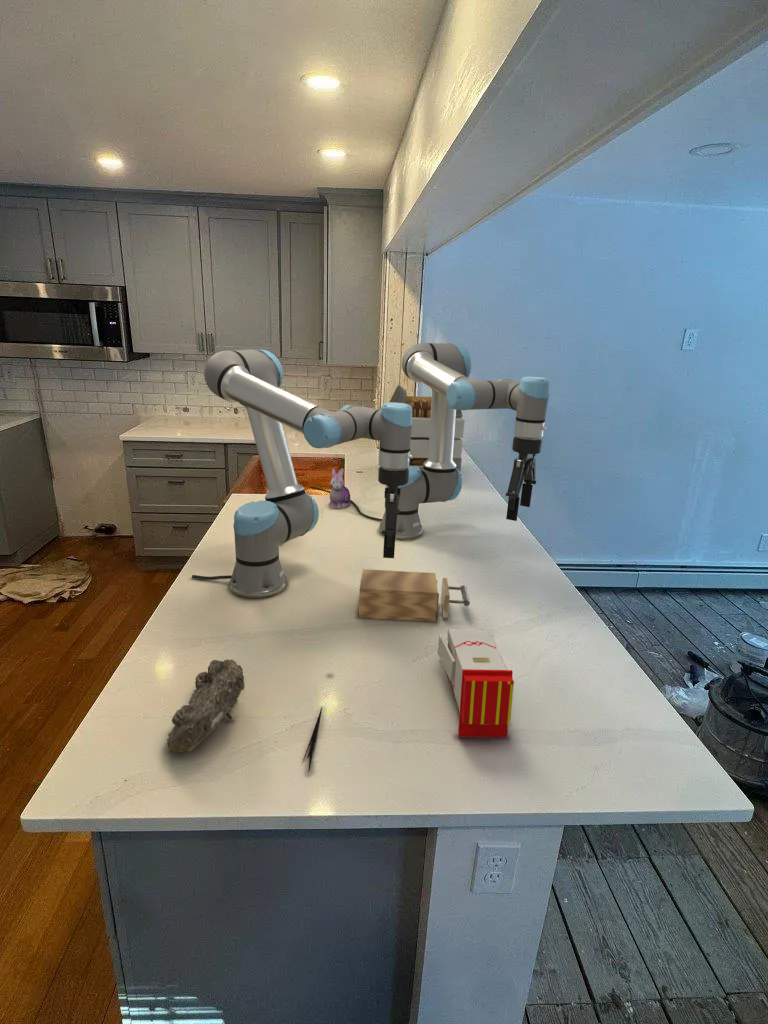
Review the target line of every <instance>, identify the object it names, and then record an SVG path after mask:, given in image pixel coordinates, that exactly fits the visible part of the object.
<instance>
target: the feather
mask: <svg viewBox="0 0 768 1024" xmlns="http://www.w3.org/2000/svg"><path fill="white" fill-rule="evenodd" d="M329 675H330V676H331V675H332V674H331V673H330V674H329ZM322 710H323V707H321V708H320V710H319V713H318V716H317V719H316V723H315V725H314V728H313V731H312V733H311V737H310V739H309V742H308V745H307V748H306V751H305V754H304V757H303V760H302V763H301V767H302V765H303V763H304V761H305V758H308V759H309V760H308V762H307V763H308V764H307V766H308V771H310V770H311V766H312V765H311V764H312V760H313V757H315V756H314V755H315V751H316V749H315V746H317V739H318V733H319V729H320V722H321V717H322V712H323V711H322ZM313 754H314V755H313ZM306 755H307V757H306Z"/></svg>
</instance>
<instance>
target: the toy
mask: <svg viewBox="0 0 768 1024" xmlns="http://www.w3.org/2000/svg"><path fill="white" fill-rule="evenodd" d="M446 640H447V643H446V641H445V639H444V636H443V635H442V634H439V637H438V646H437V656H438V657H439V659H440V661H441V663H442V666H443V668H444V670H445V672H446V674H447V677H448V679H449V681H450V684H451V687H452V690H453V693H454V697H455V701H456V705H457V708H458V711H459V714H458V715H459V716H458V730H457V731H458V732H457V737H458V738H508V731H509V726H510V725H511V717H512V707H513V697H514V696H513V695H514V684H515V680H514V679H513V673H514V671H513V670H512V669H508V667H507V665H506V662H505V661H504V659H503V658H502V655H501V653H500V651H499V649H498V647H497V643H496V639H495V637H494V635H493V634H491V632H490V631H489V629H467V628H466V629H465V628H463V629H461V628H460V629H459V628H448V630H447V639H446Z"/></svg>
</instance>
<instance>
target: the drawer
mask: <svg viewBox="0 0 768 1024" xmlns="http://www.w3.org/2000/svg"><path fill="white" fill-rule="evenodd" d="M450 590H453V591H460V593H461V598H462V600H458V599H457V600H456V599H450V598H451V594H450ZM468 592H469V591H468V589H467V585H465V584H462V585H460V586H449V581H448V577H442V580H441V591H440V593H439V592H438V599H437V611H436V615H438V611H439V601H440V603H441V611H442V618H443V619H448V618H449V612H450V611H449V609H450V604H461V605H463V606H465V607H469V606H470V604H471V602H470V597H469V593H468ZM439 598H440V599H439Z"/></svg>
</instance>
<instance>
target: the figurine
mask: <svg viewBox="0 0 768 1024" xmlns="http://www.w3.org/2000/svg"><path fill="white" fill-rule="evenodd" d="M331 474H332V475H331V476H332V477H331V480H330V482H329V485H330V488H331V489H330V491H331V492H330V493H329V500H330V501H329V506H330V508H331V509H344V508H345V509H346V508H347V507H349V506H350V503H351V502H350V500H351V494H350V493H351V492H350V490H349V489H348V488H347V486H345V480H344V479H343V475H344V468H343V467H341V468H339V471H338V472H337V470H336V468H333V469H331Z"/></svg>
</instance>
